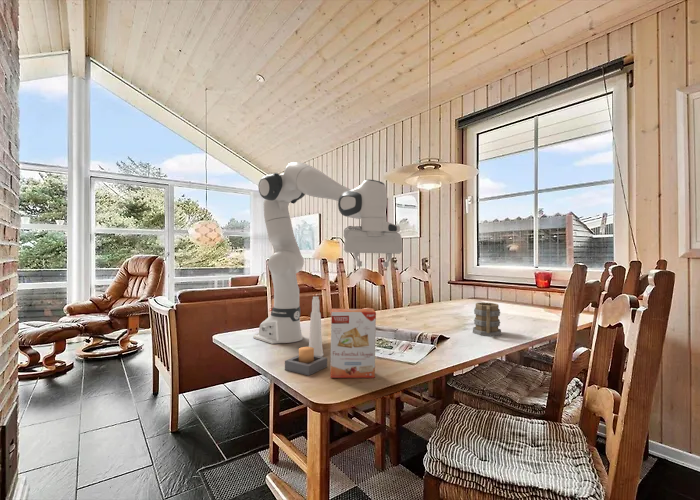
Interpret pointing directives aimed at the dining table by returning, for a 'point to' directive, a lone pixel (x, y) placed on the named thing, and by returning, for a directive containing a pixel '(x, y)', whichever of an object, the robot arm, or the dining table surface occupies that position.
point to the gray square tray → (305, 365)
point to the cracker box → (353, 343)
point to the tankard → (487, 319)
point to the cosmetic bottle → (316, 328)
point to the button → (306, 354)
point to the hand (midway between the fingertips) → (372, 266)
